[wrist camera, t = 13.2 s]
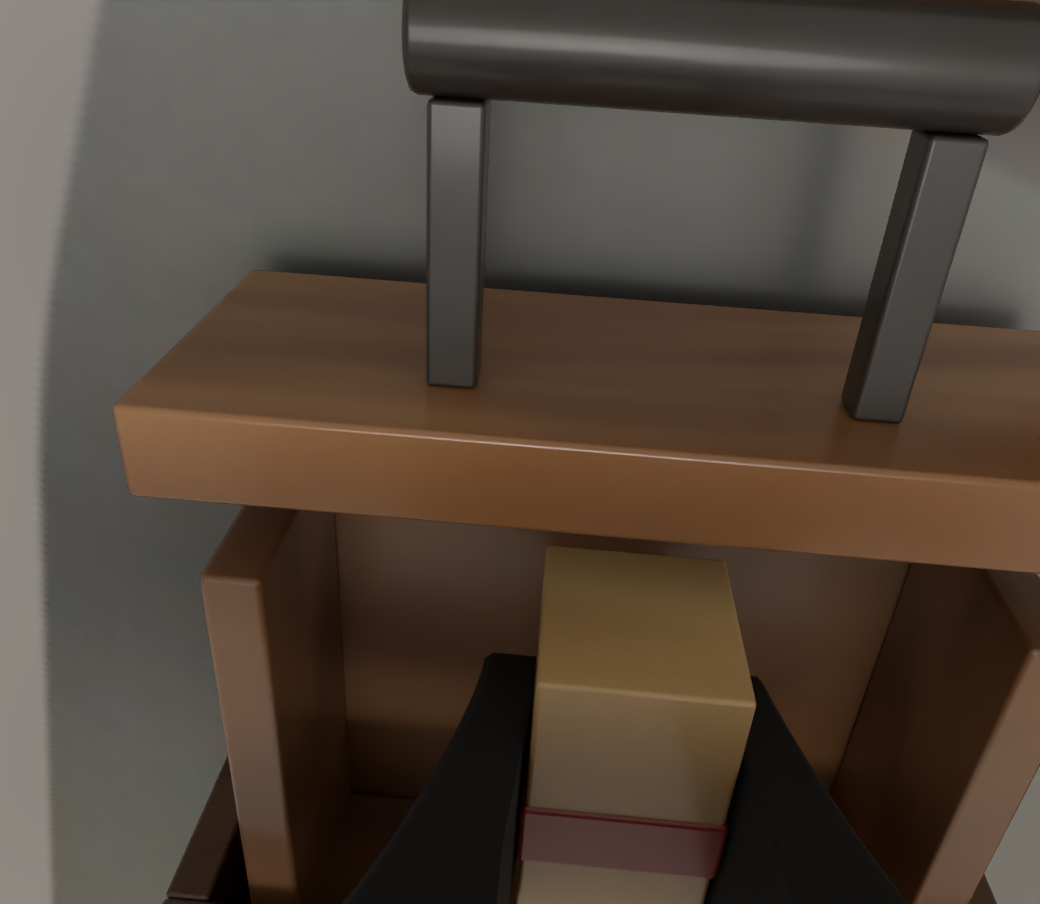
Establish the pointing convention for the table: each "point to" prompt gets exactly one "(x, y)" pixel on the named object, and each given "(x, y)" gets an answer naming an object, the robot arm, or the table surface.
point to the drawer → (629, 449)
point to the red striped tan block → (632, 729)
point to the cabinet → (221, 866)
